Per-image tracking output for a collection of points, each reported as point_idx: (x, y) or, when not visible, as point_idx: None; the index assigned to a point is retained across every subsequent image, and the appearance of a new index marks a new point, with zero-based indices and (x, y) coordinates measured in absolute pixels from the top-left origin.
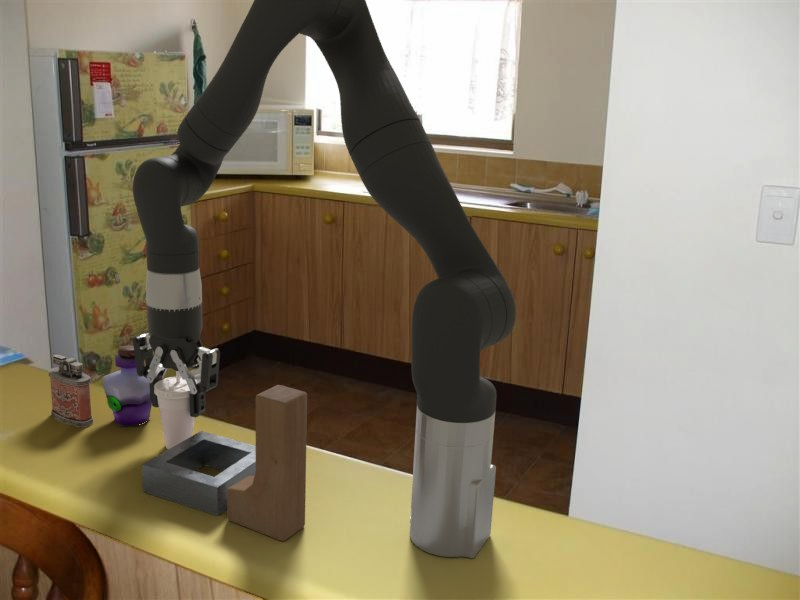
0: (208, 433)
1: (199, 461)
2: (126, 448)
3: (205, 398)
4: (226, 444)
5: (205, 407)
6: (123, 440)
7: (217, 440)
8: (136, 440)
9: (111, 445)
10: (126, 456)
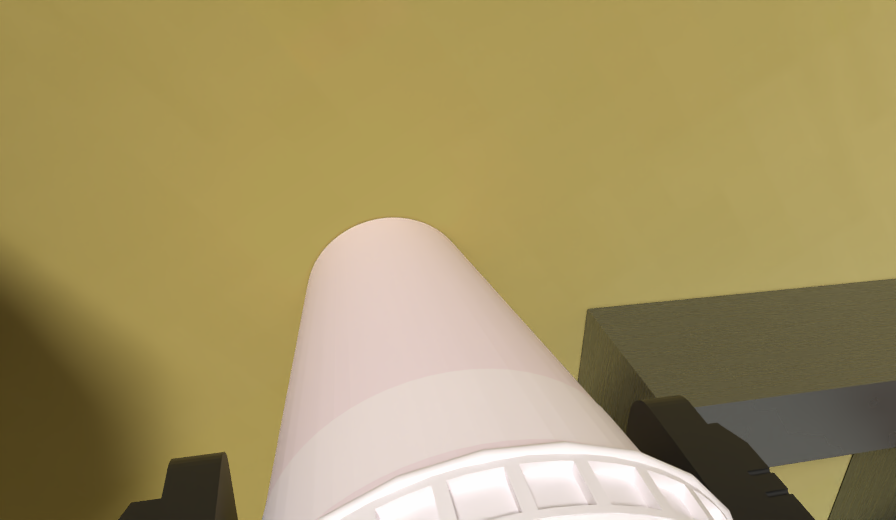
0: (730, 411)
1: None
2: (151, 471)
3: (813, 518)
4: (881, 439)
5: (751, 451)
6: (32, 426)
7: (818, 439)
8: (101, 382)
9: (42, 497)
10: (237, 517)
